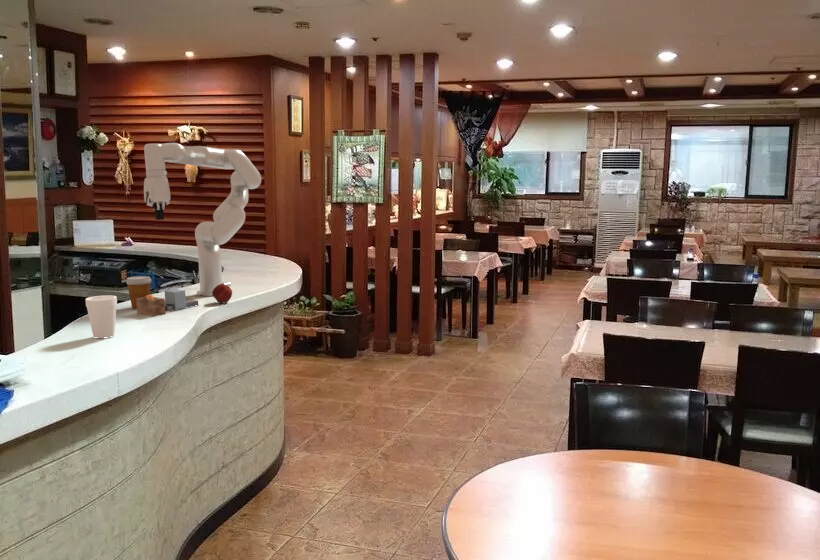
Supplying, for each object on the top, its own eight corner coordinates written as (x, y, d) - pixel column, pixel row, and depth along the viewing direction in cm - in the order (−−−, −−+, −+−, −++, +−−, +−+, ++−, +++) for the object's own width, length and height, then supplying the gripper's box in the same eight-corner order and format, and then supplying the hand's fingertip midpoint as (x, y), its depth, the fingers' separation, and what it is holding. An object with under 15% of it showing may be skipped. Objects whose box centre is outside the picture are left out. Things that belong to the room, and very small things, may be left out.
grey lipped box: (175, 305, 294) (174, 289, 293) (186, 307, 290) (185, 290, 289) (165, 308, 289) (164, 290, 288) (175, 309, 286) (174, 292, 285)
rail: (191, 304, 299) (191, 299, 299) (198, 305, 297) (198, 300, 296) (160, 310, 286) (160, 305, 286) (167, 311, 284) (167, 306, 284)
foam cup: (100, 341, 236) (97, 301, 235) (82, 338, 241) (79, 299, 239) (125, 335, 244) (122, 296, 242) (107, 332, 249) (105, 294, 247)
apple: (227, 304, 298) (226, 285, 296) (209, 304, 299) (208, 284, 298) (235, 301, 305) (234, 282, 303) (217, 301, 306) (216, 282, 305)
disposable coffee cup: (157, 305, 298) (155, 275, 296) (146, 309, 289) (144, 279, 287) (134, 305, 299) (132, 275, 297) (123, 309, 290) (121, 279, 288)
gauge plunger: (151, 303, 282) (150, 294, 281) (156, 304, 280) (155, 295, 280) (145, 304, 280) (144, 295, 279) (149, 305, 278) (149, 296, 277)
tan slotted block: (148, 311, 285) (147, 296, 284) (165, 314, 280) (164, 298, 279) (137, 313, 281) (136, 298, 280) (154, 316, 276) (153, 300, 275)
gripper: (164, 173, 309) (168, 217, 312) (134, 175, 296) (138, 220, 299) (176, 173, 305) (180, 218, 308) (147, 175, 292) (151, 221, 295)
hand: (159, 219), depth 304 cm, fingers closed
